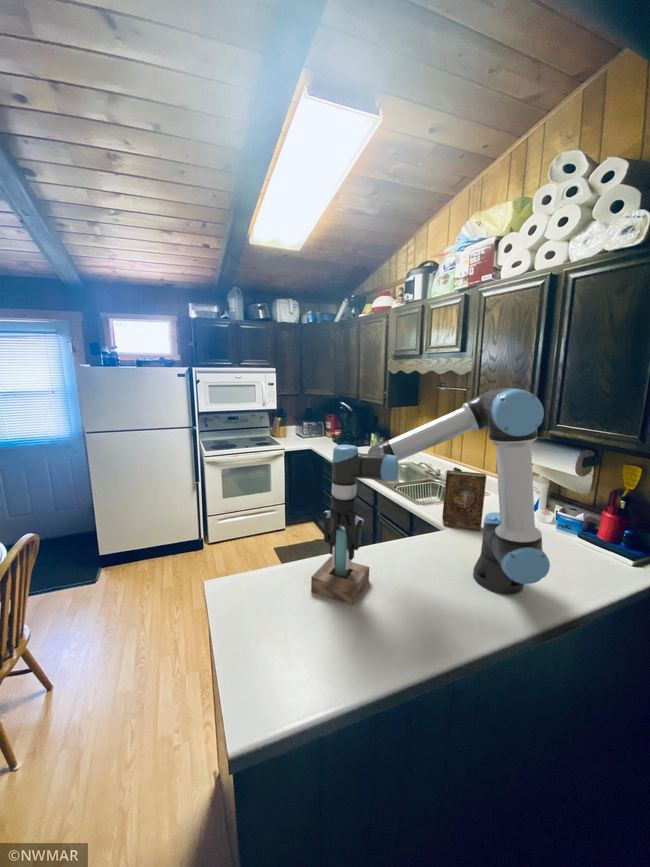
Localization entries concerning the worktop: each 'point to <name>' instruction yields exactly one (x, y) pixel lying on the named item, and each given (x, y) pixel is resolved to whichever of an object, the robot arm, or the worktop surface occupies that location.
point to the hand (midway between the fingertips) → (341, 565)
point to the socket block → (340, 582)
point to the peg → (341, 553)
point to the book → (464, 500)
